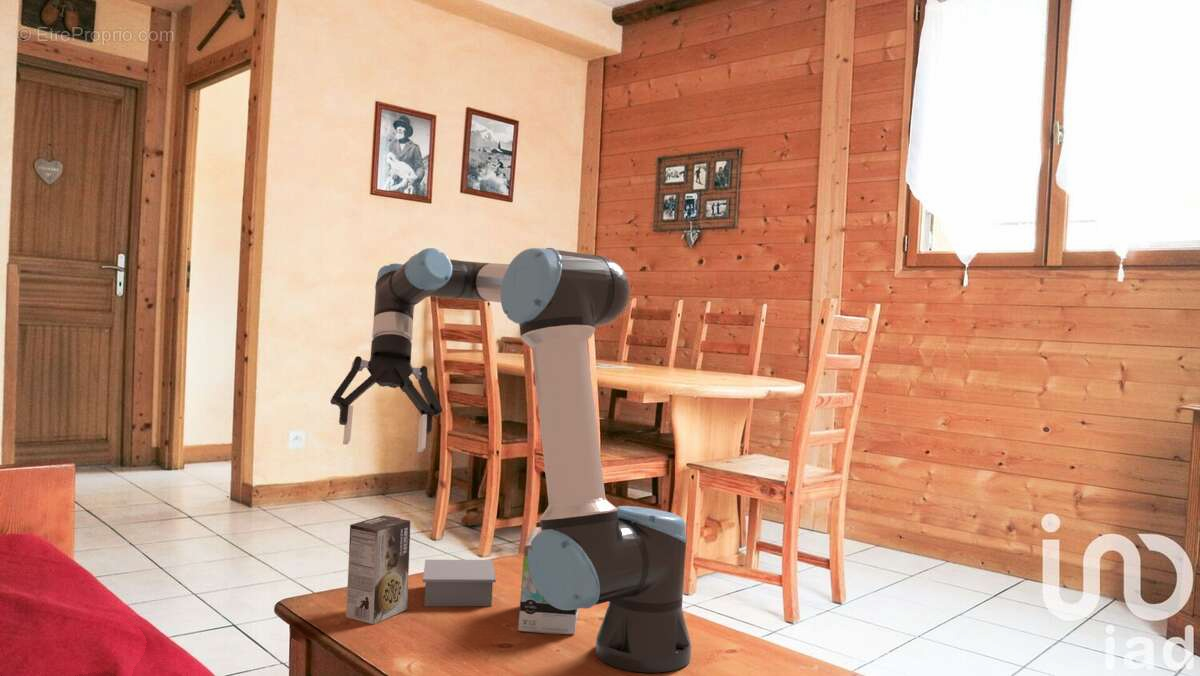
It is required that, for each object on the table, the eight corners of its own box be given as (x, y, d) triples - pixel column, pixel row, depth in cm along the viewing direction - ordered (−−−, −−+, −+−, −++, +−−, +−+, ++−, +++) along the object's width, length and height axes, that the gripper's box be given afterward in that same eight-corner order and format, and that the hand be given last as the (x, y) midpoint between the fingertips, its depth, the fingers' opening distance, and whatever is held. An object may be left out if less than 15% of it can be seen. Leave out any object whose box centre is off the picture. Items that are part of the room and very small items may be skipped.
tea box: (576, 636, 144) (581, 548, 144) (517, 632, 144) (521, 544, 144) (580, 607, 159) (584, 527, 159) (525, 604, 159) (530, 524, 159)
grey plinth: (494, 606, 157) (495, 579, 157) (421, 607, 155) (422, 579, 154) (491, 585, 170) (492, 560, 169) (424, 585, 167) (425, 559, 167)
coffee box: (379, 603, 155) (383, 514, 155) (408, 610, 153) (412, 519, 152) (343, 617, 147) (348, 523, 147) (373, 625, 144) (378, 529, 144)
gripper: (449, 357, 174) (445, 458, 165) (321, 338, 164) (310, 445, 155) (460, 342, 168) (457, 446, 159) (329, 321, 158) (317, 431, 149)
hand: (384, 446), depth 157 cm, fingers open, 13 cm apart
